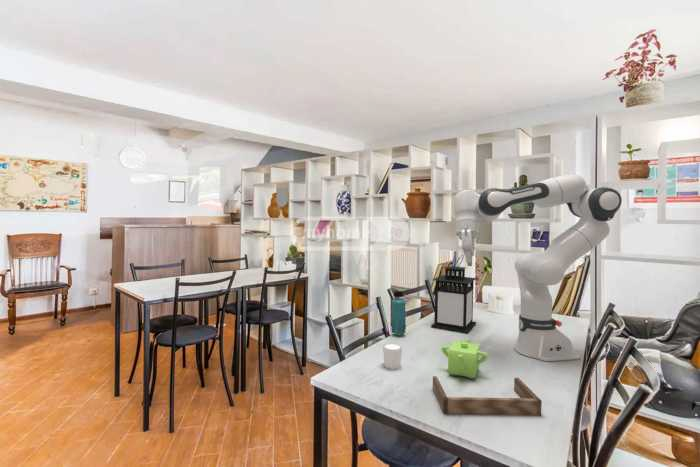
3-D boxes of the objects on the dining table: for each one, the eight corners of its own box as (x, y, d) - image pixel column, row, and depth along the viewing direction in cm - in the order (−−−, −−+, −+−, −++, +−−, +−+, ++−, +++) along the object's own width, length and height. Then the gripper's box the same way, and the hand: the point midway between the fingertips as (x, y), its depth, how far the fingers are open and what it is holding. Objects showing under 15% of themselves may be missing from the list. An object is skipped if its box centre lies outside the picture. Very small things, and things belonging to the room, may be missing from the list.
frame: (517, 390, 112) (518, 377, 112) (541, 415, 98) (541, 400, 98) (432, 388, 112) (432, 376, 112) (443, 413, 98) (443, 399, 98)
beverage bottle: (405, 338, 159) (406, 293, 158) (390, 337, 160) (390, 292, 159) (406, 333, 165) (406, 290, 164) (391, 332, 166) (392, 289, 165)
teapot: (467, 362, 133) (468, 333, 133) (495, 377, 121) (496, 346, 121) (433, 368, 127) (434, 339, 127) (458, 385, 115) (459, 352, 114)
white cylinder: (389, 371, 125) (389, 351, 125) (379, 363, 131) (379, 344, 131) (405, 367, 128) (406, 348, 128) (394, 360, 134) (395, 342, 134)
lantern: (441, 319, 189) (443, 252, 187) (475, 324, 180) (477, 254, 178) (431, 327, 174) (432, 255, 172) (467, 334, 165) (469, 257, 163)
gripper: (474, 222, 133) (477, 259, 130) (475, 234, 152) (478, 267, 148) (456, 223, 135) (458, 260, 132) (460, 235, 154) (462, 268, 150)
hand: (469, 264), depth 140 cm, fingers open, 8 cm apart
